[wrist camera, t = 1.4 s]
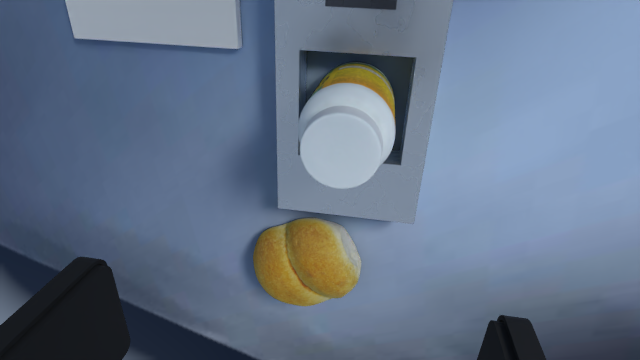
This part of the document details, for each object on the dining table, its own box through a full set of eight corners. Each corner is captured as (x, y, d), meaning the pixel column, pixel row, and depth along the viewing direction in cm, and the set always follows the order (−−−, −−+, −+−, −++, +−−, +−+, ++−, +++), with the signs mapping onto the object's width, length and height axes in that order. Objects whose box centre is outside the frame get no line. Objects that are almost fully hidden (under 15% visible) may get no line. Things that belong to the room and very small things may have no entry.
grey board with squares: (283, -210, 20) (269, -234, 18) (483, -214, 19) (495, -240, 17) (285, 192, 32) (277, 208, 29) (412, 206, 30) (413, 224, 28)
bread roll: (243, 232, 35) (226, 261, 31) (334, 201, 32) (326, 229, 28) (287, 300, 37) (276, 333, 34) (374, 277, 34) (372, 311, 31)
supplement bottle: (382, 143, 28) (379, 214, 20) (311, 125, 29) (277, 188, 20) (404, 69, 26) (411, 115, 17) (325, 51, 26) (294, 86, 18)
